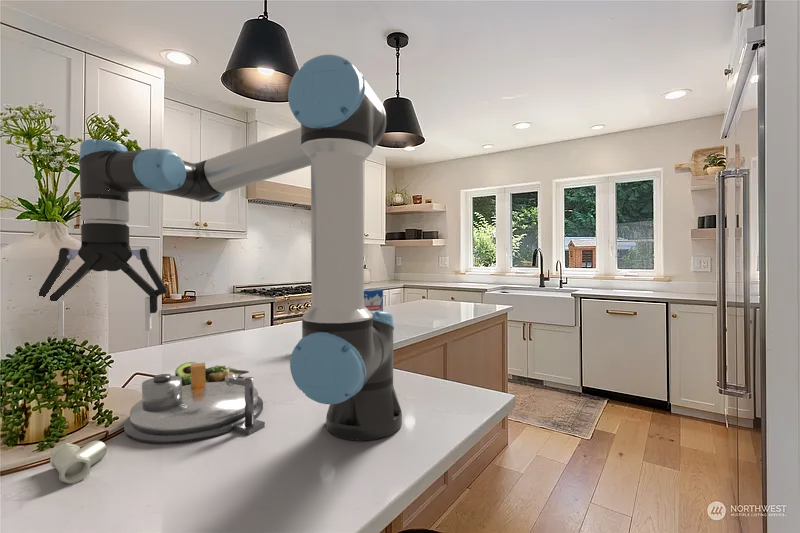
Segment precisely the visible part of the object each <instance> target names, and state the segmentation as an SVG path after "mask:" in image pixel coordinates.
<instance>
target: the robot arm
mask: <svg viewBox="0 0 800 533" xmlns="http://www.w3.org/2000/svg"><path fill="white" fill-rule="evenodd" d="M290 81H291V82H290V83H289V85H288V86H289V87H288V91H287V92H288V93H287V94H288V95H287V99H288V105H289V108H290V111H291V113H292V114H293V116H294V118H295V119H296V120H297V122H298V123H300V127H298V128H294V129H291V130H289V131H285V132H284V133H280V134H277V135H275V136H272V137H269V138H266V139H263V140H260V141H257V142H255V143H252V144H248V145H245V146H243V147H240V148H237V149H234V150H231V151H229V152H226V153H223V154H220V155H218V156H214V157H210V158H208V159H206V160H202V161H199V162H195V163H193V162H189V161H186V160H183V159H182V158H181V157H180V156H178V154H177V153H176V152H175V151H173V150H170V149H167V148H166V149H165V148H163V149H162V148H160V149H159V148H150V149H149V148H146V149H137V150H128V148H127V146H126V145H124V144H122V143H119V142H117V141H112V140H107V139H96V138H90V139H85V140H83V141H82V142H81V143H80V146H79V158H78V165H79V190H80V192H79V193H80V220H81V221H84V223H82V224H81V225H80V240H81V242H80V247H79V249H75V248H69V247H61V248H60V249H59V251H58V259H57V261H56V262H55V264H54V266H53V267H52V269H51V271H50V273H49V274H48V275H47V278H46V279H45V281H44V283H43V284H42V285H41V287H40V289H39V290H38V292H39V291H40V292H39V296H43V297H45V296H46V294H47V293H48V292H49V290H50V289H51V287H52V285H53V284H54V282H55V281H56V279H57V278H58V277H59V276H60V274H61V273H62V271H63V270H64V269H65V267H66V266H67V265H68V266H69V264H70V262H71V261H72V260H75V258H77V256H79V259H81V260H82V261H83V263H82V265H80V267H78V269H77V270H76V271H75V272H74V273H73V274H72V275H71V276H70V277H68V279H67V280H66V281H64V283H62V284H61V286H59V287H58V288H57V289H56V290H55V291H54V292H53V294H52V295H51V296H50V300H51V301H57V300H58V299H59V298H60V297H61V296H62V295H64V294H65V293H66V292H67V291H68V290H69V289H71V288H72V287H73V286H74V285H75V284H76V283H77V284H78V283H79V282H80V281H81V280H83V278H84V277H85V276H87V274H89V273H90V272H91V271H94V272H105V271H108V272H117V271H120V270H121V271H122V272H123V274H125V275H127V277H129V278H130V279H131V280H132V281H133V282H134V283H135V284H137V285H136V286H138V287H140V288H141V289H142V290H143V291H144V293H145V294H147V295H148V296H146V297H145V298H144V312H145V313H144V317H145V318H144V319H145V323H144V325H145V329H144V330H145V331H146V332H147V331H151V329H152V328H153V327H152V314H156V313H157V312H158V308H159V307H158V297H159V296H161V295H164V294H167V292H168V287H167V286H166V285H165V282H164V281H163V279H162V277H161V276H160V274H159V273H158V271H157V269H156V267H155V266H154V264H153V263H152V261H151V258H150V254H149V249H147V248H140V249H131V247H130V246H131V245H130V227H129V225H127V223H129V222H130V209H129V208H130V207H129V206H130V205H129V202H130V198H129V193H132V192H135V193H137V192H149V193H156V194H161V195H166V196H173V197H178V198H179V197H180V198H183V199H187V200H194V201H197V202H201V203H216V202H217V201H218V202H219V201H220V200H221V199H222V198H223V197H224V196H225V194H226V193H227V192H230V191H234V190H237V189H239V188H244V187H247V186H250V185H252V184H256V183H260V182H263V181H265V180H266V181H267V180H269V179H272V178H276V177H279V176H282V175H285V174H288V173H291V172H295V171H297V170H301V169H304V168H306V167H310V211H311V212H310V215H311V216H310V217H311V218H310V219H311V220H310V223H311V224H310V229H311V230H310V233H311V235H310V237H311V240H310V241H311V243H310V244H311V245H310V247H311V248H310V249H311V250H310V252H311V254H310V255H311V256H310V257H311V258H310V260H311V262H310V263H311V270H310V271H311V274H310V275H311V281H310V282H311V284H310V285H311V306H310V308H308V309H307V311H306V312H305V313H304V314H303V315H302V318H301V337H302V338H301V339H300V340H299V341H298V342H297V344H296V345H295V346H294V348H293V350H292V353H291V356H290V360H289V361H290V362H289V367H290V368H289V369H290V373H291V377H292V379H293V382H294V384H295V385H296V387H297V388H298V389H299V390H300V391H302V393H303V394H305V396H306V397H307V398H308V399H310V400H311V401H314V402H316V403H319V404H323V405H328V406H329V407H328V409H327V412H326V429H327V431H328V432H329V433H330V434H332V435H333V436H335V437H337V438H341V439H344V440H349V441H350V440H351V441H370V440H371V441H372V440H373V441H374V440H377V439H382V438H383V439H384V438H386V437H388V436H391V435H393V434H395V433H396V432H398V431H399V430H400V429H401V427H402V424H403V414H402V408H401V405H400V402H399V399H398V395H397V393H396V389H395V386H394V330H395V326H394V317H393V314H392V313H391V312H389V311H385V310H383V311H369V310H368V309H367V308H366V307H365V306H364V290H365V283H364V282H365V280H364V279H365V278H364V277H365V273H364V272H365V271H364V268H365V264H364V263H365V260H364V259H365V258H364V257H365V256H364V255H365V254H364V253H365V252H364V251H365V250H364V248H365V247H364V244H365V241H364V240H365V239H364V237H365V236H364V234H365V233H364V232H365V230H364V227H365V226H364V224H365V222H364V218H365V217H364V216H365V214H364V210H365V207H364V204H365V202H364V198H365V197H364V193H365V192H364V184H365V183H364V181H365V180H364V178H365V177H364V176H365V175H364V172H365V170H364V167H365V166H364V162H365V161H366V159H368V157H370V156H371V155H372V154H373V150H374V148H375V147H376V146H378V144H379V143H380V142H381V141H382V139H383V137H384V134H385V133H386V128H387V113H386V110H385V107H384V105H383V102H382V100H380V98H379V96H378V95H377V94H376V93H375V92H374V90H373V89H372V88H371V86H370V85H369V83H368V82H367V80H366V79H365V77H364V75H363V73H362V72H361V71H360V70H359V68H357V67H356V66H354V65H353V63H352V62H351V61H349V60H348V59H347V58H344V57H343V56H340V55H335V54H322V55H317V56H315V57H312V58H310V59H309V60H307V61H306V62H305V63H303V65H302V66H301V67H300V69H297V70H296V71H295V73H294V75H293V77H292V78H291V80H290ZM110 188H111V189H110ZM108 189H110V190H109V191H108ZM102 193H103V194H102ZM99 197H100V198H99ZM132 257H135V258H136V260H138V261H139V260H140V262H141V263H142V265H143V267H144V269H145V270H146V272H147V273H148V275H149V276H150V278H151V281H153V283H154V285H155V286H156V288H157V289H155V288H154V287H153V286H152V285H151V284H150V283H148V281H146V280H145V279H144V277H143V276H141V274H140V273H138V272H137V271H136V270H135V269H134V267H132V266H131V265H130V263H128V262H129V260H130V259H131V258H132ZM68 266H67V267H68ZM65 270H66V269H65ZM77 284H76V285H77ZM76 285H75V286H76ZM75 286H74V287H75ZM74 287H73V288H74ZM73 288H72V289H73ZM72 289H71V290H72ZM50 300H49V301H50ZM57 322H58V323H57V325H58V327H57V330H58V331H57V332H58V333H57V335H58V337H59V338H60V337H65V336H64V301H58V318H57Z"/></svg>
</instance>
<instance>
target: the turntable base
mask: <svg viewBox="0 0 800 533" xmlns="http://www.w3.org/2000/svg"><path fill="white" fill-rule="evenodd" d="M263 409H264V402H263V399H262V398H261V397H260V396H259V395H258V405H257V407H256V408H255V409H254V419H255V420H257V418H258V417H259V416H260V415H261V414H262V412H263V411H264V410H263ZM243 421H245V416H244V417H243V418H241V419H239V420H236V421H234V422H231V423H228V424H226V425H223V426H219V427H216V428H212V429H208V430H203V431H198V432H191V433H183V434H170V435H161V434H149V433H144V432H140V431H138V430H136V429H134V428H133V427H132V426H131V424H130V415H129V416H128V417H126V420H125V421H124V423H123V431H124V435H125V436H126V437H127V438H129V439H130V440H131V441H134V442H138V443H142V444H148V445H149V444H150V445H175V444H185V443H192V442H198V441H202V440H207V439H211V438H215V437H218V436H222V435H225V434H228V433H231V432H235V431H234V426H235V425H237V424H239V423H241V422H243Z"/></svg>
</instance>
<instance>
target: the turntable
mask: <svg viewBox="0 0 800 533" xmlns="http://www.w3.org/2000/svg"><path fill="white" fill-rule="evenodd" d="M195 363H196V364H191V385H186V386H182V403H181V404H180V405H179V406H177V407H175V408H172V409H168V410H164V411H157V412H148V411H144V410H143V409H142V399H141V400H139V401H138V402H136V403H134V405H133V406H132V407H131V409H130V410H129V416H130V424H131V426H132V427H133V428H134V429H136V430H138V431H140V432H144V433H149V434H161V435H170V434H183V433H191V432H198V431H203V430H208V429H212V428H216V427H219V426H223V425H226V424H228V423H231V422H234V421H236V420H239V419H241V418H243V417H244V416H245V386H241V385H236V384H235V385H233V386H228V385H227V384H226V382H208V383H206V378H205V368H206V362H199V363H198V362H195ZM253 394H254V409H255V408H256V407H257V405H258V396H259V391H258V389H257V387H255V386H253Z"/></svg>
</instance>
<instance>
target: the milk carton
mask: <svg viewBox="0 0 800 533" xmlns="http://www.w3.org/2000/svg"><path fill="white" fill-rule="evenodd" d="M364 306H365V307H366V308H367V309H368V310H369V311H384V290H383V289H378V288H373V289H372V288H369V289H364Z"/></svg>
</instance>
